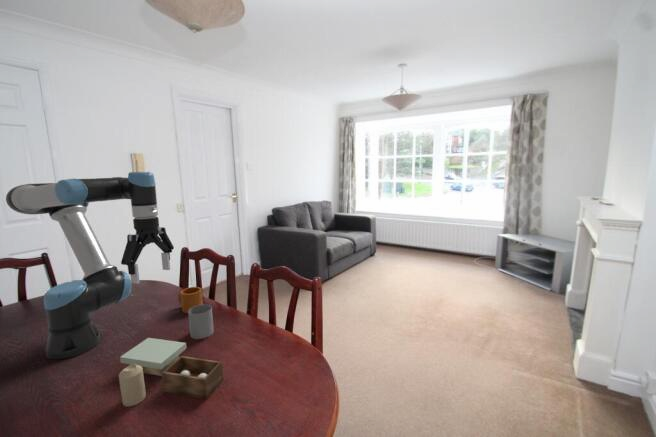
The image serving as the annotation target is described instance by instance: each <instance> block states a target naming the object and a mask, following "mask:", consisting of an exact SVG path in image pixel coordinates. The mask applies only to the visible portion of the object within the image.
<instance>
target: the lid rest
mask: <svg viewBox="0 0 656 437" xmlns="http://www.w3.org/2000/svg"><path fill="white" fill-rule="evenodd" d="M179 358H180V354H179V355H178V356H177V357H176V358H175V359H173V360H172V361H171V362H170V363H169V364H168V365H166V366H165V367H164V368H163V369H156V368H150V367H144V366H142V368H143V374H147V375H152V376H153V375H154V376H161V377H162V372H164V371H165V370H166V369H167V368H168V367H169V366H170V365H172V364H173V363H174V362H175V361H176V360H177V359H179Z"/></svg>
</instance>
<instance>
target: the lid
mask: <svg viewBox="0 0 656 437" xmlns="http://www.w3.org/2000/svg"><path fill="white" fill-rule="evenodd" d="M186 349H187V342H182V341H181V342H180V341H176V340H167V339H160V338H154V337H153V338H152V337H147V338H145V339H144V340H142V341H141V342H139V344H137V345H136V346H134V347H133V348H131V349H130V350H128V351H127V352H125V353H124V354H122V355H121V356H119V358H120V360H119V361H120V364H127V365H130V364H133V363H134V364H136V365H139V366H144V367H150V368H156V369H163V368H164V367H165V366H166V365H168V364H169V363H170V362H171V361H172V360H173V359H175V358H176V357H177V356H178V355H179V356H180V355H181V354H182V353H183V352H184V351H185V350H186Z"/></svg>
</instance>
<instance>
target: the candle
mask: <svg viewBox="0 0 656 437" xmlns="http://www.w3.org/2000/svg"><path fill="white" fill-rule="evenodd" d="M144 377H145V376H144V373H143V368H142V366H139V365H136V364H134V363H133V364H128V366H126V367H125V368H123V369H122V370H121V371H119V374H118V380H119V381H118V382H119V388H120V393H121V394H120V396H121V401H122V405H123V406H124V407H128V408H129V407H133V406H136V405H138V404H140V403H142V402H143V401H144V400H145V399H146V396H147V395H146V394H147V393H146V392H147V391H146V384H145V378H144Z"/></svg>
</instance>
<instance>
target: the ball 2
mask: <svg viewBox="0 0 656 437" xmlns="http://www.w3.org/2000/svg"><path fill="white" fill-rule="evenodd" d="M206 376H207V374H206V373H201V374H200V375H199V376H198V377H200V378H205V377H206Z"/></svg>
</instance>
